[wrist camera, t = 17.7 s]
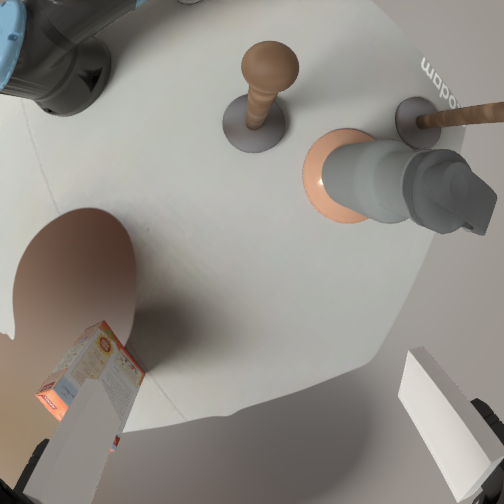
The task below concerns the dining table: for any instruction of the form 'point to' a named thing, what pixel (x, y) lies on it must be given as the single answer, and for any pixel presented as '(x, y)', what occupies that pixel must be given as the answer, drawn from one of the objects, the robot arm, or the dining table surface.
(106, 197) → the dining table surface
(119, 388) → the cracker box
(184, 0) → the chess piece
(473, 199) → the water bottle
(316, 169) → the glossy peach dome
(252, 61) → the walnut post
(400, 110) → the walnut post
